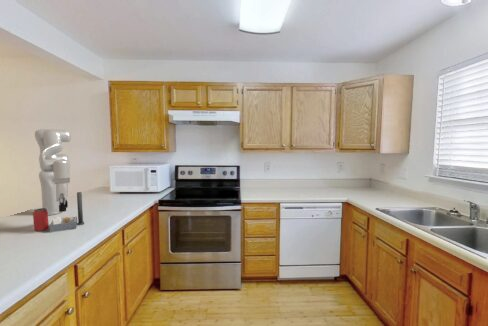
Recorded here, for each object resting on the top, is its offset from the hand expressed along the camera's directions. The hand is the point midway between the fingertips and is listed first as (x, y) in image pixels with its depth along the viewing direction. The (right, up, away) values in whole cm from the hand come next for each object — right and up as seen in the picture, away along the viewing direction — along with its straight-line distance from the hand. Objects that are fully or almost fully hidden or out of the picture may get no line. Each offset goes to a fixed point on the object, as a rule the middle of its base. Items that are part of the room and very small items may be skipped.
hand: (63, 209), depth 145 cm
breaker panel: (0, -11, +1) cm, 11 cm away
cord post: (+6, -10, +7) cm, 14 cm away
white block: (-1, -7, -4) cm, 8 cm away
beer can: (-10, -11, -3) cm, 16 cm away
